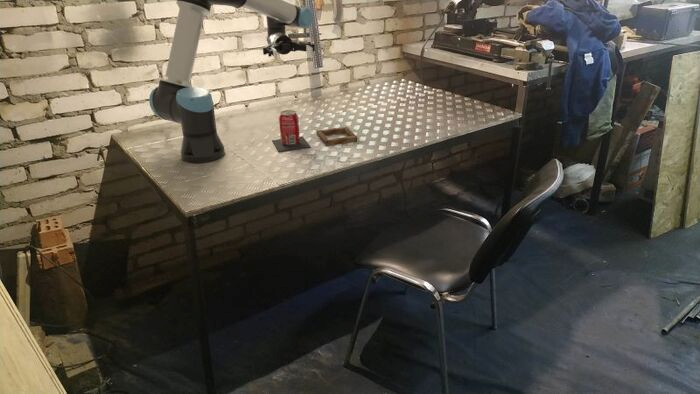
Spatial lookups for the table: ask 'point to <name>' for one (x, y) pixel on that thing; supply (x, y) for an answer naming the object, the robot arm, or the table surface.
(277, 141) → the mat
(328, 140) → the holder
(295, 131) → the soda can
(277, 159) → the table surface
